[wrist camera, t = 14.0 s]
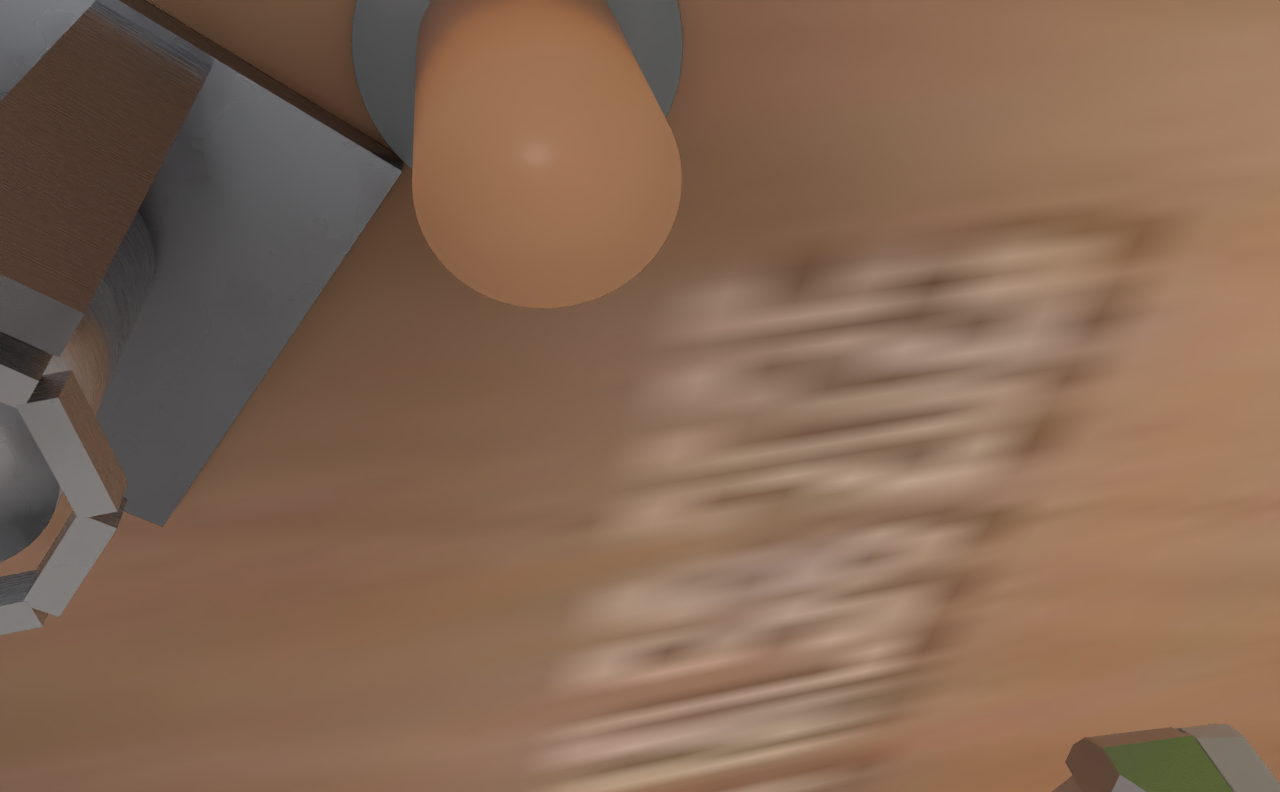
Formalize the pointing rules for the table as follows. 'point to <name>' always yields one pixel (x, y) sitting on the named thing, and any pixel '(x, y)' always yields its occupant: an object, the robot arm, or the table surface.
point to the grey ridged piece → (146, 264)
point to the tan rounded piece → (538, 150)
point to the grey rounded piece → (390, 44)
